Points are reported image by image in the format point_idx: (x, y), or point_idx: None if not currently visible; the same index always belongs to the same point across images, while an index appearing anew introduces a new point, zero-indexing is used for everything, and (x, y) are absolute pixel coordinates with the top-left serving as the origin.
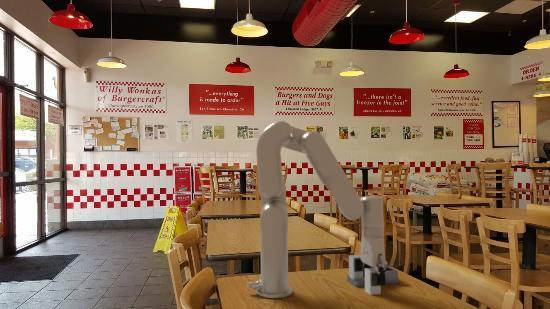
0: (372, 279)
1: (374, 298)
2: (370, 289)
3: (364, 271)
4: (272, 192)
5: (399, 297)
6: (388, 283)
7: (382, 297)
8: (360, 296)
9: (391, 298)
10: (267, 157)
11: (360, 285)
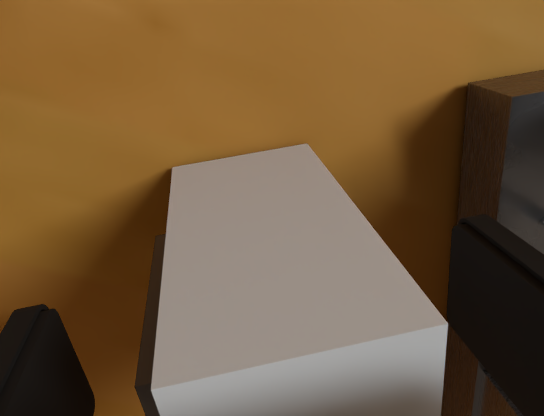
0: (152, 306)
1: (65, 184)
2: (171, 198)
3: (511, 276)
4: None
5: (109, 399)
6: (446, 391)
7: (104, 270)
8: (136, 33)
9: (76, 338)
10: None
11: (470, 143)
